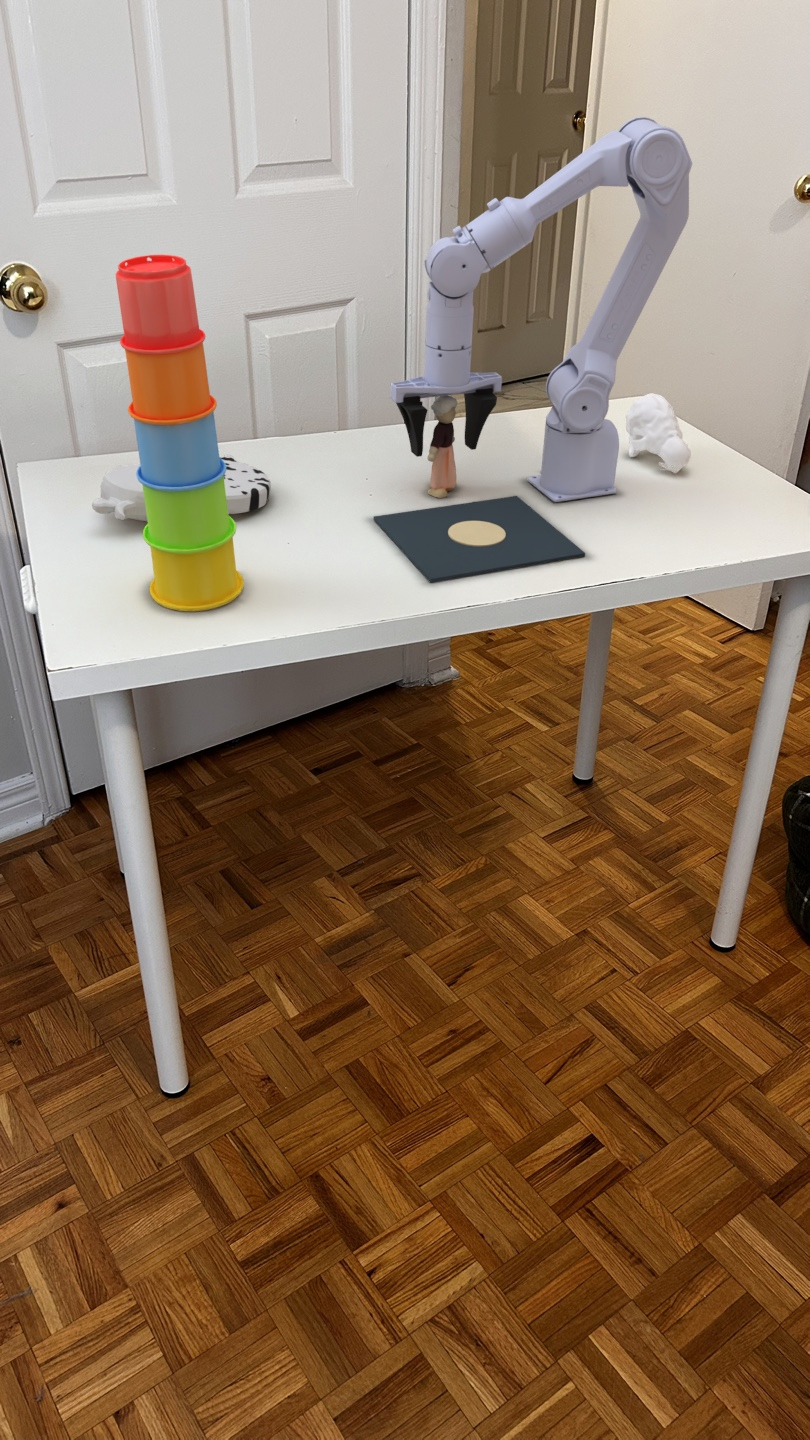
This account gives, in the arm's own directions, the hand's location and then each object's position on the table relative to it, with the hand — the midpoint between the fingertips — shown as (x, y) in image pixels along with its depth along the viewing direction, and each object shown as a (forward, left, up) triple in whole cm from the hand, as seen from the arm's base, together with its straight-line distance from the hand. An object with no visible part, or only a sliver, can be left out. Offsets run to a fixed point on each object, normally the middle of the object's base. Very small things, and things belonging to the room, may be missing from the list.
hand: (443, 450), depth 146 cm
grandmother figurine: (0, 0, -6) cm, 6 cm away
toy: (+33, -6, -6) cm, 34 cm away
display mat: (+2, +15, -5) cm, 16 cm away
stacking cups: (+37, +17, -6) cm, 41 cm away
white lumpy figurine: (-33, +1, -6) cm, 33 cm away
